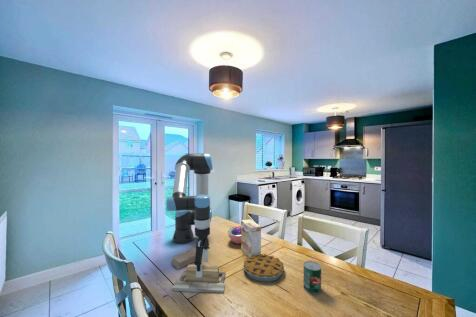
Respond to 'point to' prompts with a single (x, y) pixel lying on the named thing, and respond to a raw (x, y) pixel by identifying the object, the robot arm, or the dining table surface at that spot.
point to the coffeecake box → (250, 237)
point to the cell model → (235, 234)
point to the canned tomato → (312, 277)
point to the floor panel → (200, 285)
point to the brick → (184, 258)
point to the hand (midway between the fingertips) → (202, 268)
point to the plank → (208, 274)
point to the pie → (263, 267)
